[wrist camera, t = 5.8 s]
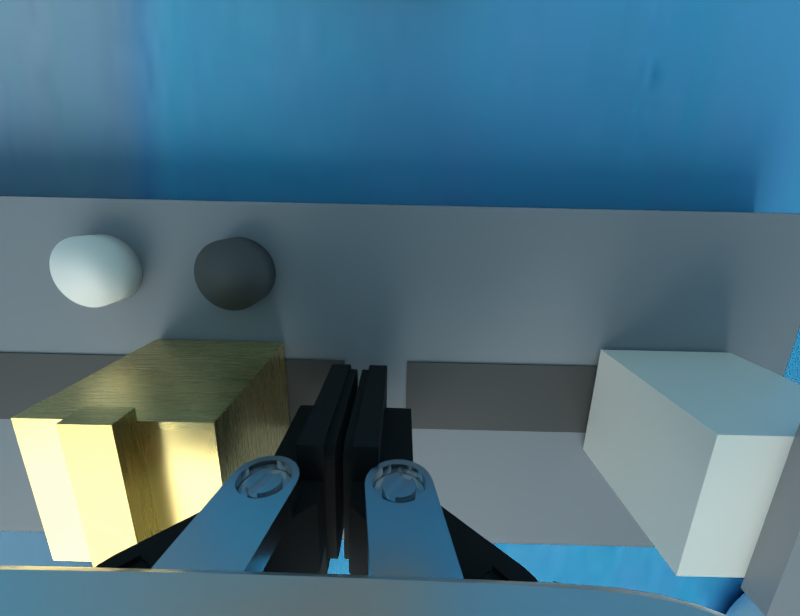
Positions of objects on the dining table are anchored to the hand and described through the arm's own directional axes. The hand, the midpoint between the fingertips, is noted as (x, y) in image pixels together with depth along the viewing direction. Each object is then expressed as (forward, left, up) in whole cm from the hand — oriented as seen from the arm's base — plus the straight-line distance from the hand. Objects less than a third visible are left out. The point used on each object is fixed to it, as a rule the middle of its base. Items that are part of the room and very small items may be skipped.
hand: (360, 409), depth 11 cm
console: (0, +6, -3) cm, 7 cm away
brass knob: (0, +4, -1) cm, 5 cm away
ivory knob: (0, -9, -1) cm, 9 cm away
